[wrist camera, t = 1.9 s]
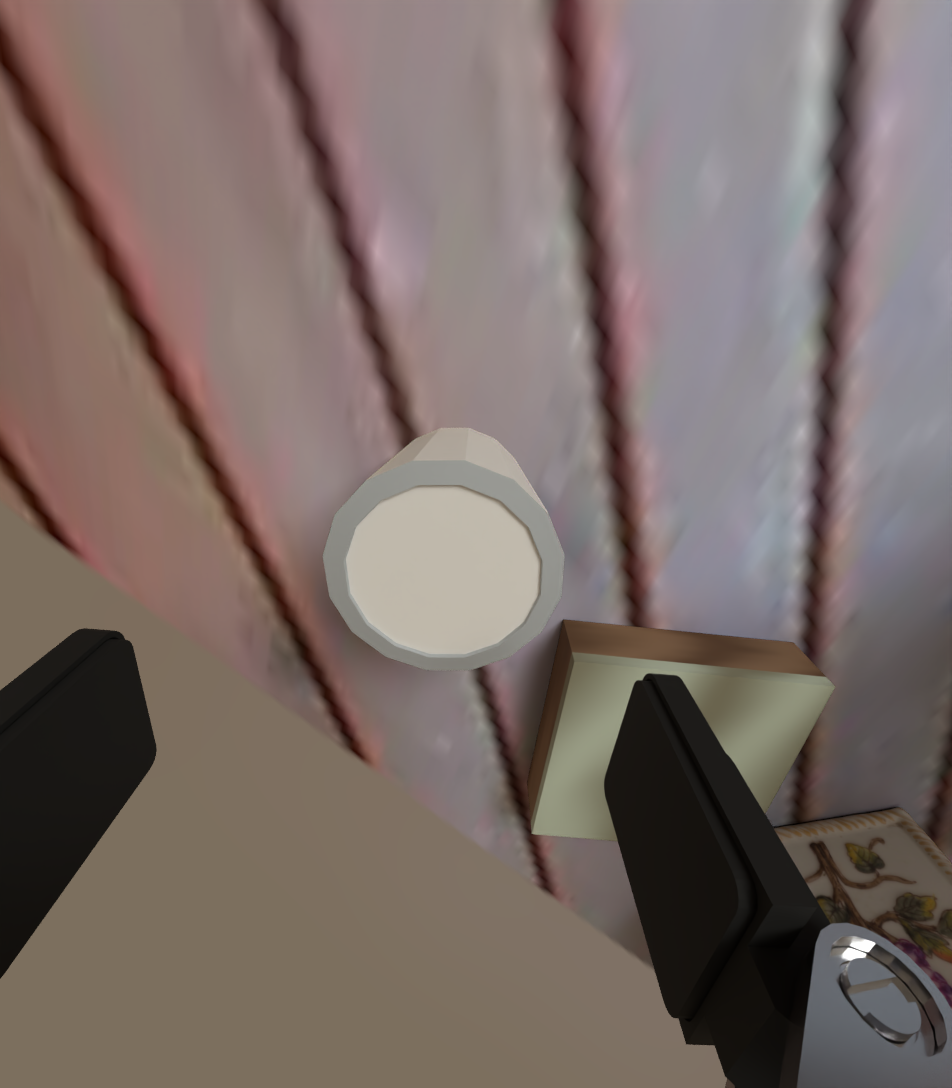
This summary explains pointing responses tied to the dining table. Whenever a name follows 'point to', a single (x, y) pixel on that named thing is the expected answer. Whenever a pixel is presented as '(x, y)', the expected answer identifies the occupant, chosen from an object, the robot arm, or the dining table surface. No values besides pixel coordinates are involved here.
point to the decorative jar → (881, 882)
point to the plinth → (716, 686)
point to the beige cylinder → (445, 555)
